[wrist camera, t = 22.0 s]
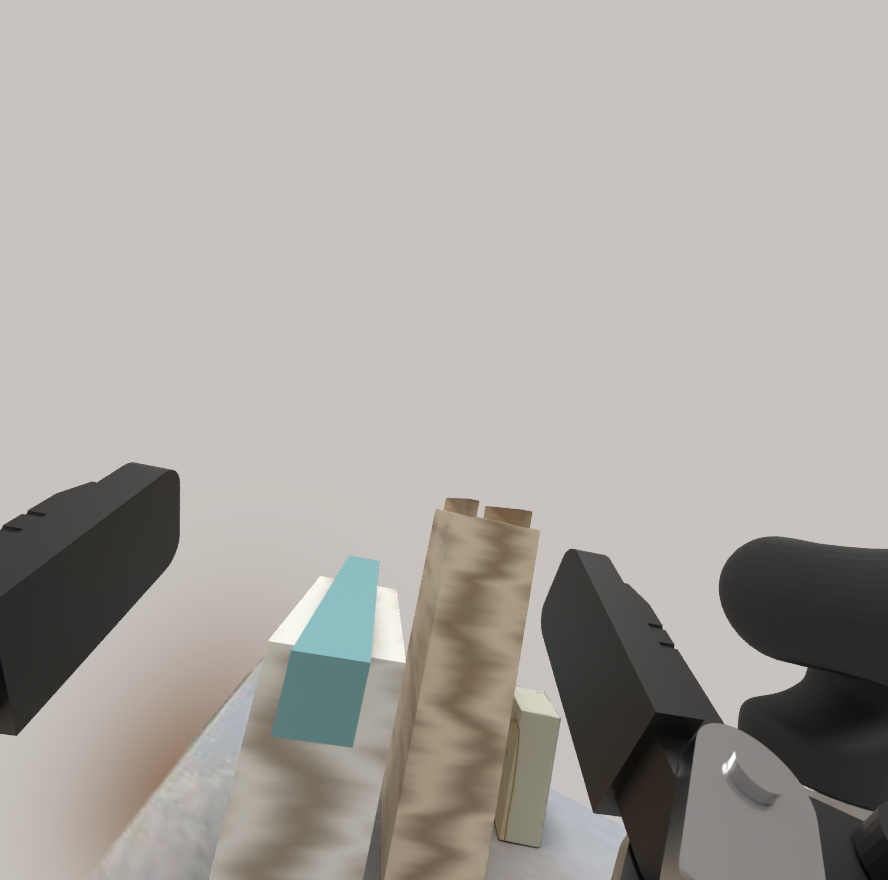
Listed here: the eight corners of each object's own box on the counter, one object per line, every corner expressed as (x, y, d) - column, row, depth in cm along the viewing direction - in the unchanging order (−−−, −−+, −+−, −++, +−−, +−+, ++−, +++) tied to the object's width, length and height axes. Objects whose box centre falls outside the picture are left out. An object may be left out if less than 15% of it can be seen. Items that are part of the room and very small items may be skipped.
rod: (372, 592, 41) (379, 560, 42) (352, 747, 16) (370, 662, 16) (341, 586, 41) (349, 555, 41) (270, 736, 15) (291, 650, 16)
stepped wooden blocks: (452, 789, 47) (501, 509, 52) (524, 1103, 23) (604, 520, 28) (280, 767, 45) (347, 478, 50) (157, 1086, 21) (312, 460, 26)
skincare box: (488, 798, 47) (507, 682, 49) (527, 805, 47) (544, 690, 49) (498, 842, 41) (519, 708, 43) (543, 851, 41) (562, 716, 43)
